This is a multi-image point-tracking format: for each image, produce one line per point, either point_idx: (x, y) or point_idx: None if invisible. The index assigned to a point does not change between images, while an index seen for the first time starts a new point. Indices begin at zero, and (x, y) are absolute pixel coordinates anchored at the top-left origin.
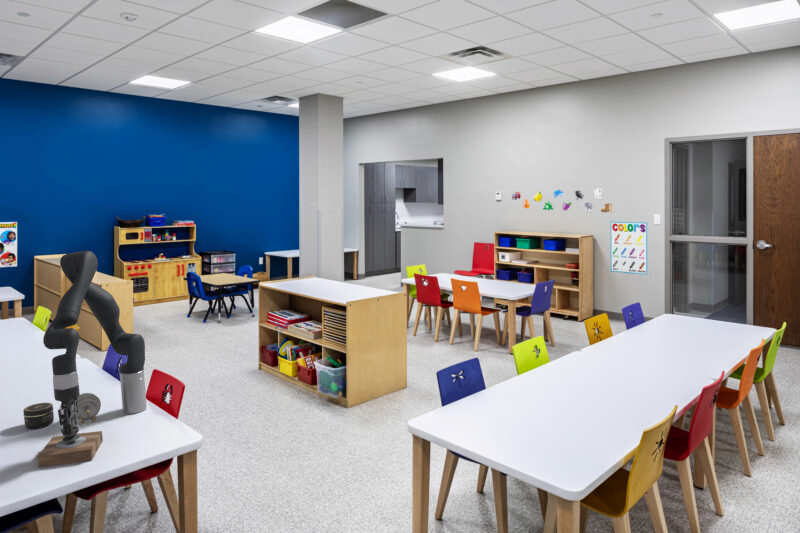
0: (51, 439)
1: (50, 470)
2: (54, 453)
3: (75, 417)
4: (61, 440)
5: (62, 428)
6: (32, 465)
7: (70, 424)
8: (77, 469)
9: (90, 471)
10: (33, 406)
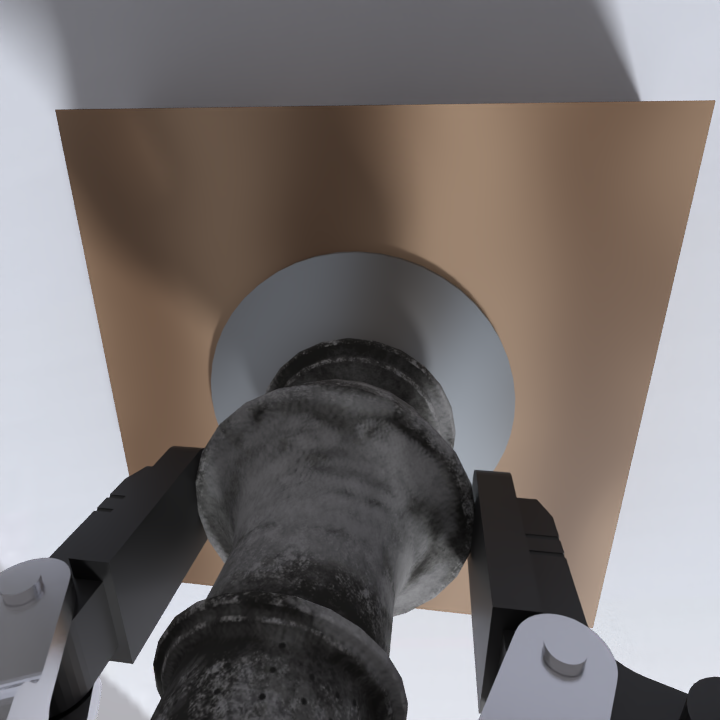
0: (588, 116)
1: (69, 253)
2: (103, 293)
3: (480, 707)
4: (483, 273)
5: (364, 407)
6: (196, 28)
7: (121, 650)
8: (67, 444)
9: (32, 520)
10: None
